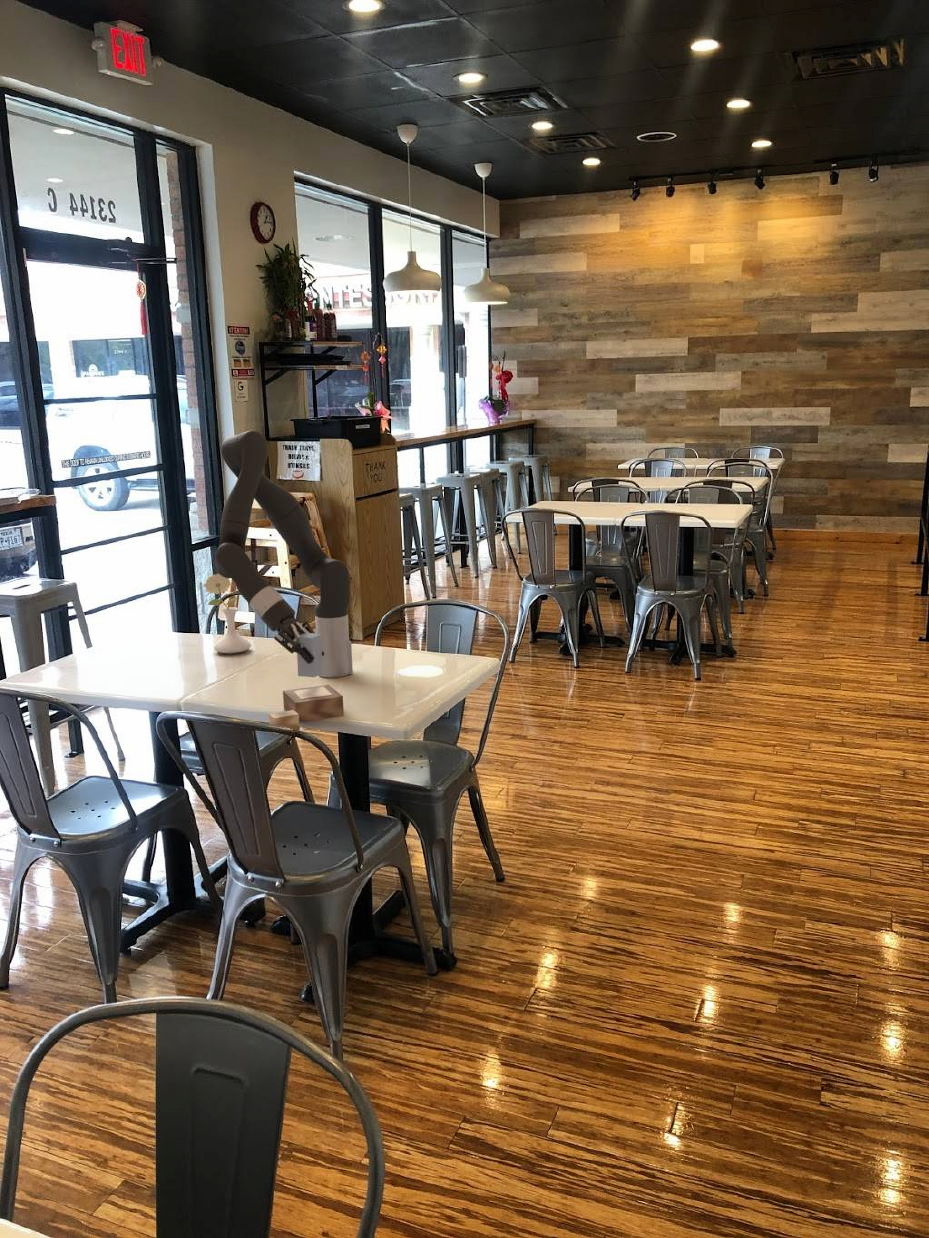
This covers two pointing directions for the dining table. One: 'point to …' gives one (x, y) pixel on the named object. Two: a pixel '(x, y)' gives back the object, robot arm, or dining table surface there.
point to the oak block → (285, 719)
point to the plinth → (314, 702)
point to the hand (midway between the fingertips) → (316, 658)
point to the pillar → (315, 648)
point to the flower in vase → (231, 639)
